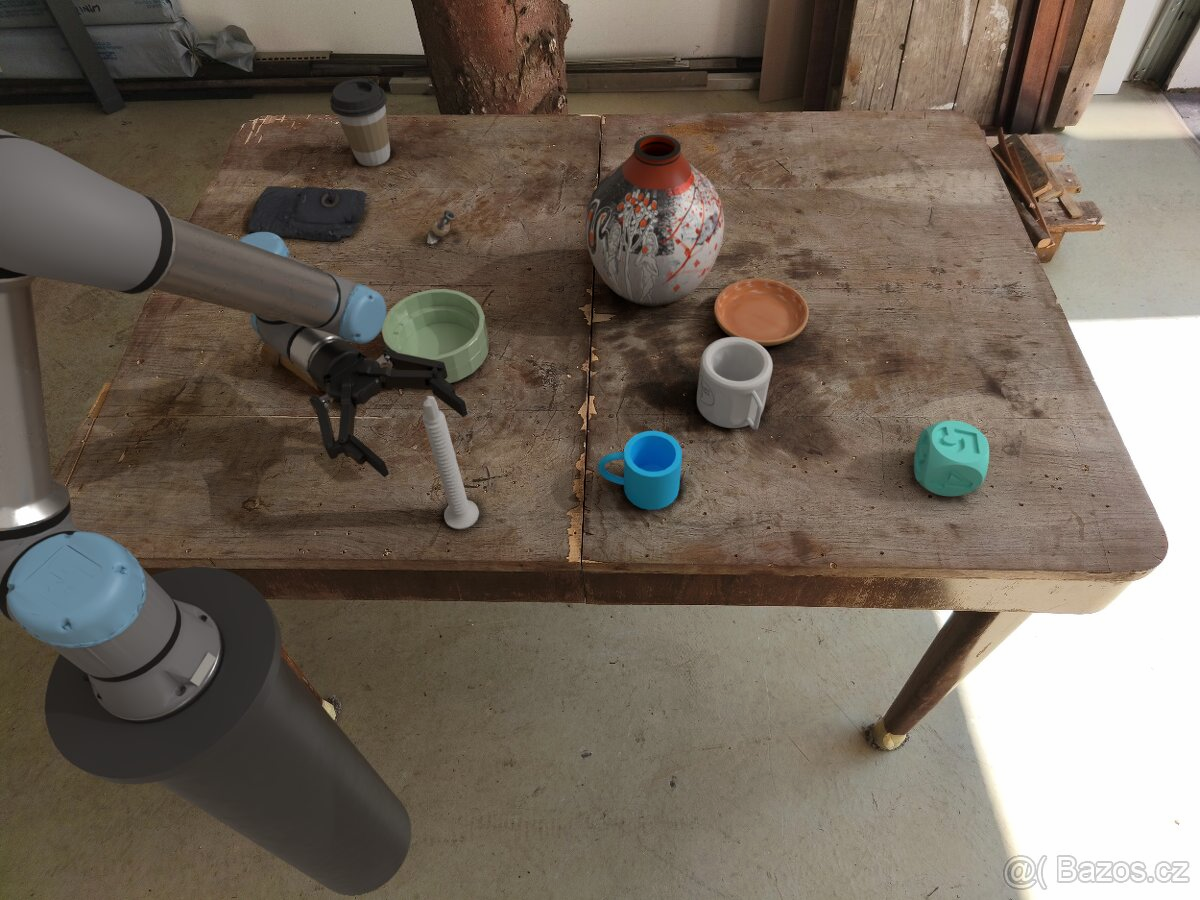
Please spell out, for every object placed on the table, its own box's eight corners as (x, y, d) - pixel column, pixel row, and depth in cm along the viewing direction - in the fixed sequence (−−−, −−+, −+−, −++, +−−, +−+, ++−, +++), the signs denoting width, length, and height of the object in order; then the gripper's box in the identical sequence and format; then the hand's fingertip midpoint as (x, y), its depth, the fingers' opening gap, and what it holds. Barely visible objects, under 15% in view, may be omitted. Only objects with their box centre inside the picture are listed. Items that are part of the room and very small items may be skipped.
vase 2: (571, 318, 142) (562, 178, 120) (606, 237, 155) (604, 98, 133) (702, 342, 138) (718, 201, 115) (727, 256, 151) (745, 116, 129)
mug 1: (680, 466, 122) (683, 432, 115) (677, 512, 117) (680, 479, 110) (601, 460, 123) (600, 426, 116) (595, 505, 118) (593, 472, 111)
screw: (439, 377, 99) (455, 403, 96) (470, 495, 119) (484, 520, 116) (401, 392, 98) (415, 419, 95) (439, 509, 118) (452, 534, 115)
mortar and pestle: (270, 370, 136) (347, 425, 131) (253, 349, 130) (333, 406, 125) (298, 343, 138) (374, 395, 133) (283, 321, 132) (362, 375, 127)
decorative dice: (972, 500, 117) (992, 467, 110) (915, 493, 118) (932, 460, 111) (966, 456, 122) (985, 422, 115) (911, 450, 122) (927, 416, 116)
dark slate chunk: (272, 189, 168) (264, 168, 164) (374, 196, 165) (368, 176, 161) (242, 235, 158) (232, 214, 155) (349, 243, 156) (342, 223, 152)
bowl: (385, 391, 132) (375, 361, 127) (398, 321, 142) (389, 290, 137) (486, 387, 132) (480, 357, 127) (492, 317, 142) (486, 287, 137)
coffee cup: (410, 155, 174) (395, 88, 162) (368, 178, 169) (348, 111, 157) (378, 136, 179) (361, 69, 167) (336, 158, 174) (315, 91, 162)
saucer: (699, 337, 138) (700, 324, 136) (731, 280, 147) (733, 268, 145) (789, 365, 134) (792, 352, 131) (817, 305, 142) (820, 292, 140)
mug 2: (684, 390, 131) (688, 346, 123) (743, 371, 133) (751, 327, 125) (723, 451, 123) (730, 409, 115) (785, 430, 125) (796, 387, 117)
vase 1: (462, 231, 158) (457, 205, 153) (454, 248, 154) (449, 222, 150) (435, 228, 158) (430, 202, 153) (427, 246, 155) (421, 220, 150)
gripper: (404, 334, 124) (498, 403, 115) (264, 428, 113) (356, 513, 104) (393, 297, 118) (491, 367, 109) (245, 392, 107) (340, 479, 98)
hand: (425, 438), depth 107 cm, fingers open, 13 cm apart
